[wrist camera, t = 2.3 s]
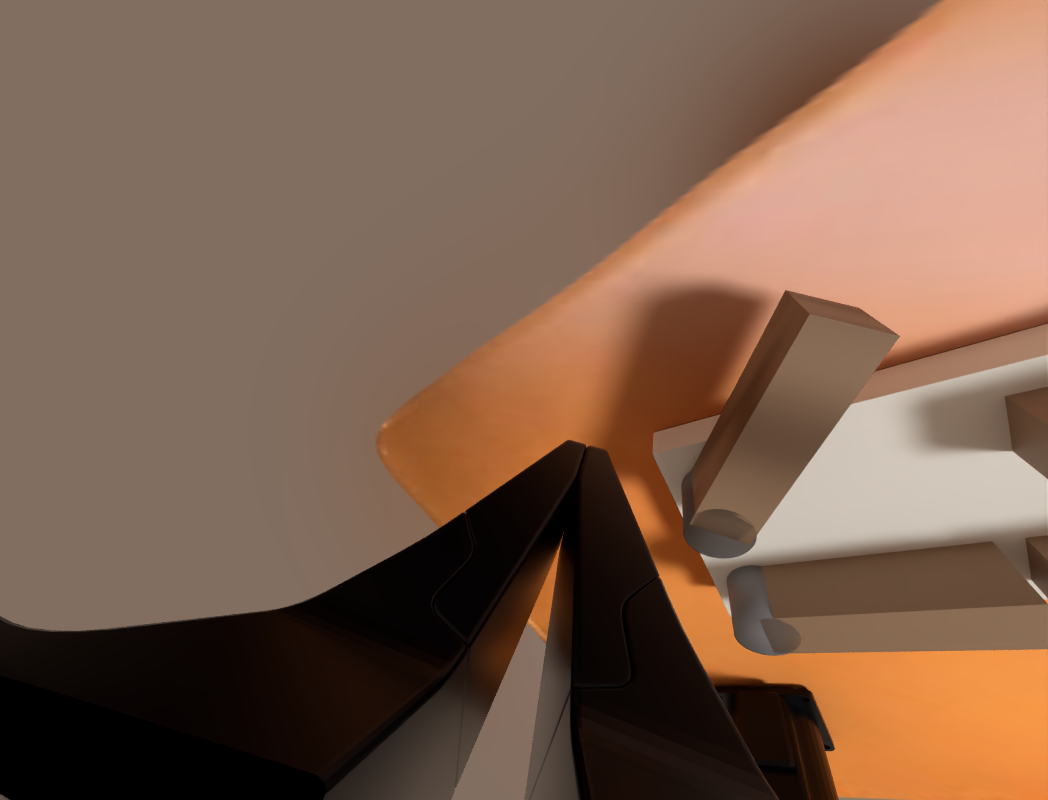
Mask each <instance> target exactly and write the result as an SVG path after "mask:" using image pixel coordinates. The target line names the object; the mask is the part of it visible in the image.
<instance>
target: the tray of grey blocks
mask: <svg viewBox="0 0 1048 800" xmlns="http://www.w3.org/2000/svg"><path fill="white" fill-rule="evenodd" d="M720 415H721V414H719V415H716V416H712V417H708V418H705V419H701V420H698V421H694V422H690V423H687V424H683V425H680V426H676V427H672V428H669V429H665V430H661V431H658V432H654V433H653V453H652V454H653V456H654V459H655V461H656V463H657V465H658V467H659V469H660V471H661V473H662V475H663V477H664V479H665V481H666V484H667V486H668V488H669V490H670V492H671V494H672V496H673V498H674V500H675V502H676V504H677V506H678V509H679V511H680V513H681V515H682V517H683V513H682V492H681V484H682V481H683V478H684V477H685V476H686V474H687V473H689V472H690V471H691V470H692V468H693V466H694V464H695V462H696V460H697V459H698V457H699V455H700V453H701V451H702V449H703V447H704V445H705V443H706V441H707V439H708V438H709V436H710V434H711V432H712V430H713V428H714V426H715V424H716V422H717V420H718V418H719V416H720ZM700 554H701V553H700ZM701 556H702V559H703V561H704V563H705V565H706V567H707V569H708V571H709V573H710V575H711V577H712V579H713V582H714V584H715V586H716V588H717V590H718V592H719V594H720V596H721V598H722V600H723V602H724V604H725V607H726V609H727V611H728V613H729V615H730V617H732V623H733V630H734V636H735V638H736V640H737V641H738V642H739V643H740V644H741V645H742V646H743V647H745V648H746V649H748V650H750V651H753V652H756V653H759V654H763V655H773V656H776V655H784V654H788V653H840V652H902V651H964V650H1026V649H1048V604H1047V603H1046V602H1045V600H1044V599H1048V324H1045V325H1041V326H1037V327H1034V328H1030V329H1027V330H1023V331H1019V332H1016V333H1012V334H1008V335H1005V336H1001V337H998V338H994V339H990V340H987V341H983V342H980V343H976V344H972V345H969V346H965V347H962V348H958V349H954V350H951V351H947V352H943V353H940V354H936V355H933V356H929V357H925V358H922V359H918V360H915V361H911V362H907V363H904V364H900V365H896V366H893V367H889V368H886V369H882V370H878V371H875V372H874V373H873V374H872V376H871V377H870V378H869V380H868V381H867V383H866V384H865V385H864V387H863V388H862V390H861V391H860V392H859V394H858V395H857V397H856V398H855V399H854V401H853V402H852V403H851V405H850V406H849V408H848V409H847V410H846V412H845V413H844V415H843V416H842V417H841V419H840V420H839V422H838V423H837V424H836V426H835V427H834V429H833V430H832V431H831V433H830V434H829V435H828V437H827V438H826V440H825V441H824V442H823V444H822V445H821V447H820V448H819V449H818V451H817V452H816V454H815V455H814V456H813V458H812V459H811V461H810V462H809V463H808V465H807V466H806V467H805V469H804V470H803V472H802V473H801V474H800V476H799V477H798V479H797V480H796V481H795V483H794V484H793V486H792V487H791V488H790V490H789V491H788V493H787V494H786V495H785V497H784V498H783V499H782V501H781V502H780V504H779V505H778V506H777V508H776V509H775V511H774V512H773V513H772V515H771V516H770V518H769V519H768V520H767V522H766V523H765V525H764V526H763V527H762V529H761V530H760V531H759V533H758V534H757V539H756V543H755V545H754V546H753V547H752V549H751V550H749V551H748V552H747V553H745V554H743V555H741V556H738V557H734V558H727V559H720V558H713V557H709V556H705V555H703V554H701Z"/></svg>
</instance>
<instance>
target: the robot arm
mask: <svg viewBox="0 0 1048 800" xmlns="http://www.w3.org/2000/svg"><path fill="white" fill-rule="evenodd" d="M564 529H565V530H564ZM563 533H564V534H563ZM562 536H563V538H562ZM561 540H562V542H561ZM560 543H561V546H560ZM559 546H560V552H559V558H558V565H557V572H556V579H555V586H554V594H553V601H552V608H551V615H550V622H549V629H548V636H547V643H546V650H545V658H544V665H543V672H542V680H541V687H540V693H539V700H538V707H537V714H536V722H535V729H534V737H533V743H532V750H531V757H530V765H529V772H528V778H527V786H526V793H525V800H839V799H838V796H837V792H836V788H835V785H834V781H833V777H832V774H831V770H830V767H829V763H828V759H827V756H826V752H825V751H833V750H834V749H835V747H834V744H833V741H832V738H831V736H830V734H829V731H828V729H827V727H826V724H825V722H824V720H823V717H822V715H821V713H820V710H819V708H818V706H817V703H816V701H815V699H814V696H813V694H812V692H811V691H809V690H807V689H799V688H746V687H714V686H713V684H712V682H711V680H710V678H709V677H708V675H707V673H706V671H705V669H704V668H703V666H702V664H701V662H700V660H699V658H698V656H697V654H696V653H695V651H694V649H693V647H692V645H691V643H690V641H689V639H688V637H687V635H686V633H685V632H684V630H683V628H682V626H681V623H680V621H679V619H678V617H677V615H676V612H675V610H674V608H673V606H672V604H671V601H670V599H669V597H668V595H667V592H666V590H665V587H664V585H663V582H662V580H661V579H660V578H659V573H658V571H657V569H656V566H655V564H654V561H653V559H652V557H651V554H650V552H649V550H648V547H647V545H646V542H645V540H644V538H643V535H642V533H641V531H640V528H639V526H638V523H637V521H636V519H635V516H634V514H633V512H632V509H631V507H630V504H629V502H628V500H627V497H626V495H625V493H624V490H623V488H622V485H621V483H620V481H619V478H618V476H617V474H616V471H615V469H614V466H613V464H612V462H611V459H610V457H609V455H608V452H607V451H606V450H604V449H600V448H597V447H593V446H588V447H587V448H586V445H585V444H582V443H579V442H575V441H572V440H567V441H565V442H564V443H563V444H561V445H560V446H558V447H557V448H555V449H554V450H552V451H551V452H550V453H548V454H547V455H545V456H544V457H542V458H541V459H539V460H538V461H537V462H535V463H534V464H532V465H531V466H529V467H528V468H526V469H525V470H524V471H522V472H521V473H519V474H518V475H516V476H515V477H513V478H512V479H511V480H509V481H508V482H506V483H505V484H503V485H502V486H500V487H499V488H498V489H496V490H495V491H493V492H492V493H490V494H489V495H487V496H486V497H485V498H483V499H482V500H480V501H479V502H477V503H476V504H474V505H473V506H472V507H470V508H469V509H467V510H466V511H465V513H461V514H460V515H458V516H457V517H455V518H454V519H453V520H451V521H450V522H448V523H447V524H445V525H444V526H442V527H440V528H439V529H437V530H436V531H434V532H433V533H431V534H430V535H428V536H427V537H425V538H423V539H421V540H420V541H418V542H416V543H414V544H413V545H411V546H409V547H407V548H406V549H404V550H402V551H400V552H399V553H397V554H395V555H393V556H391V557H389V558H387V559H385V560H384V561H382V562H380V563H378V564H376V565H374V566H373V567H371V568H369V569H367V570H365V571H363V572H361V573H360V574H358V575H356V576H354V577H352V578H350V579H348V580H346V581H344V582H343V583H341V584H339V585H337V586H335V587H333V588H331V589H329V590H327V591H326V592H323V593H321V594H319V595H317V596H315V597H313V598H310V599H308V600H305V601H303V602H300V603H297V604H294V605H291V606H288V607H284V608H280V609H275V610H268V611H259V612H250V613H243V614H233V615H224V616H215V617H206V618H198V619H189V620H180V621H171V622H162V623H154V624H145V625H137V626H127V627H118V628H110V629H98V630H86V631H51V630H44V629H35V628H28V627H24V626H22V625H19V624H15V623H13V622H11V621H8V620H7V619H5V618H3V617H1V616H0V800H451V798H452V796H453V794H454V790H455V788H456V786H457V784H458V782H459V780H460V777H461V775H462V773H463V770H464V768H465V766H466V763H467V761H468V759H469V756H470V754H471V752H472V749H473V747H474V745H475V742H476V740H477V738H478V735H479V733H480V730H481V728H482V726H483V724H484V721H485V719H486V717H487V714H488V712H489V710H490V707H491V705H492V702H493V700H494V698H495V696H496V693H497V691H498V689H499V686H500V684H501V682H502V679H503V677H504V675H505V673H506V670H507V668H508V665H509V663H510V661H511V658H512V656H513V654H514V652H515V649H516V647H517V645H518V642H519V640H520V638H521V635H522V633H523V630H524V628H525V626H526V624H527V621H528V619H529V617H530V614H531V612H532V610H533V607H534V605H535V603H536V600H537V598H538V596H539V593H540V591H541V589H542V586H543V584H544V582H545V579H546V577H547V575H548V572H549V570H550V568H551V565H552V563H553V561H554V558H555V556H556V553H557V551H558V548H559Z"/></svg>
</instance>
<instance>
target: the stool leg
mask: <svg viewBox="0 0 1048 800" xmlns="http://www.w3.org/2000/svg"><path fill="white" fill-rule="evenodd" d="M899 337H900V336H899V335H897V334H896V333H895V332H893V331H892V330H890V329H889V328H887V327H886V326H884V325H883V324H882V323H880V322H879V321H877V320H876V319H874V318H873V317H871V316H870V315H869V314H867V313H866V312H864V311H863V310H861V309H860V308H857V307H853V306H849V305H845V304H840V303H836V302H832V301H828V300H824V299H820V298H816V297H811V296H807V295H803V294H799V293H795V292H791V291H787V290H785V292H784V294H783V296H782V298H781V300H780V302H779V304H778V306H777V308H776V309H775V311H774V313H773V315H772V317H771V319H770V321H769V323H768V325H767V327H766V329H765V330H764V332H763V334H762V336H761V338H760V340H759V342H758V344H757V346H756V348H755V350H754V352H753V353H752V355H751V357H750V359H749V361H748V363H747V365H746V367H745V369H744V371H743V373H742V374H741V376H740V378H739V380H738V382H737V384H736V386H735V388H734V390H733V392H732V394H731V395H730V397H729V399H728V401H727V403H726V405H725V407H724V409H723V411H722V413H721V415H720V416H719V418H718V420H717V422H716V424H715V426H714V428H713V430H712V432H711V434H710V436H709V438H708V439H707V441H706V443H705V445H704V447H703V449H702V451H701V453H700V455H699V457H698V459H697V460H696V462H695V464H694V466H693V468H692V470H691V471H690V472H689V473H687V474H686V476H685V477H684V478H683V481H682V484H681V492H682V513H683V533H684V537H685V540H686V542H687V543H688V544H689V545H690V546H691V547H692V548H693V549H694V550H695V551H697V552H699V553H701V554H703V555H705V556H709V557H713V558H720V559H727V558H734V557H738V556H741V555H743V554H745V553H747V552H748V551H749V550H751V549H752V547H753V546H754V545H755V543H756V539H757V534H758V533H759V531H760V530H761V529H762V527H763V526H764V525H765V523H766V522H767V520H768V519H769V518H770V516H771V515H772V513H773V512H774V511H775V509H776V508H777V506H778V505H779V504H780V502H781V501H782V499H783V498H784V497H785V495H786V494H787V493H788V491H789V490H790V488H791V487H792V486H793V484H794V483H795V481H796V480H797V479H798V477H799V476H800V474H801V473H802V472H803V470H804V469H805V467H806V466H807V465H808V463H809V462H810V461H811V459H812V458H813V456H814V455H815V454H816V452H817V451H818V449H819V448H820V447H821V445H822V444H823V442H824V441H825V440H826V438H827V437H828V435H829V434H830V433H831V431H832V430H833V429H834V427H835V426H836V424H837V423H838V422H839V420H840V419H841V417H842V416H843V415H844V413H845V412H846V410H847V409H848V408H849V406H850V405H851V403H852V402H853V401H854V399H855V398H856V397H857V395H858V394H859V392H860V391H861V390H862V388H863V387H864V385H865V384H866V383H867V381H868V380H869V378H870V377H871V376H872V374H873V373H874V371H875V370H876V369H877V367H878V366H879V365H880V363H881V362H882V360H883V359H884V358H885V356H886V355H887V353H888V352H889V351H890V349H891V348H892V346H893V345H894V344H895V342H896V341H897V340H898V338H899Z"/></svg>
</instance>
